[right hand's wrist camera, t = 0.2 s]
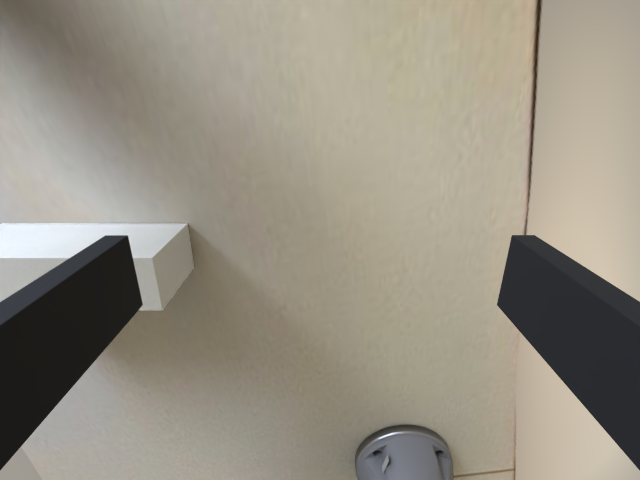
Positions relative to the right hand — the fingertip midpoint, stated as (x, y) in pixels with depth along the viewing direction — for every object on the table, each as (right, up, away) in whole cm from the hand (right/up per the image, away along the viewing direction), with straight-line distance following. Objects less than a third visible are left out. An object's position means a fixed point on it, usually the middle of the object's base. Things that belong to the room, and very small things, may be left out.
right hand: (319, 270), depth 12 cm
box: (-27, 0, +31) cm, 41 cm away
